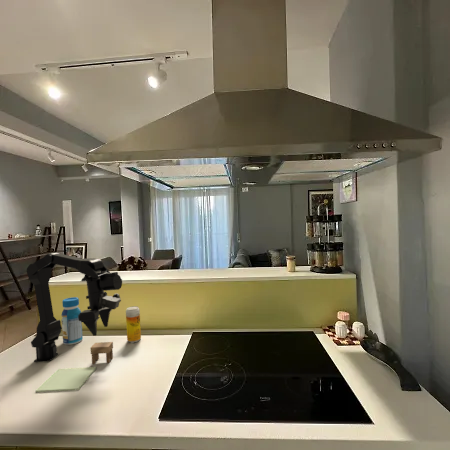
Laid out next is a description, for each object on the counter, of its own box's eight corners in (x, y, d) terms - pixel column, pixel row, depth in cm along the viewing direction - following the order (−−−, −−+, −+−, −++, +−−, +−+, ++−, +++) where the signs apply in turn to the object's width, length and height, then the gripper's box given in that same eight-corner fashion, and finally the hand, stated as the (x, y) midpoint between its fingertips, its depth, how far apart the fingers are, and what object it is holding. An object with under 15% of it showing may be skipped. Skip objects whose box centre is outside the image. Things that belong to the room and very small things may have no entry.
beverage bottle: (77, 345, 134) (74, 301, 134) (58, 345, 134) (56, 302, 134) (86, 337, 143) (84, 296, 142) (68, 338, 143) (66, 296, 142)
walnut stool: (91, 364, 115) (90, 347, 115) (96, 358, 120) (95, 342, 120) (109, 363, 116) (108, 346, 115) (113, 357, 120) (112, 341, 120)
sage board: (35, 392, 98) (35, 390, 98) (58, 370, 112) (58, 368, 112) (78, 390, 98) (78, 388, 98) (96, 368, 112) (96, 366, 112)
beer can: (137, 343, 133) (135, 310, 133) (124, 342, 134) (123, 309, 134) (143, 337, 139) (141, 306, 139) (131, 337, 140) (129, 305, 140)
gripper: (105, 295, 106) (110, 338, 106) (125, 284, 125) (129, 320, 125) (74, 298, 107) (80, 341, 107) (99, 286, 125) (104, 323, 126)
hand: (100, 330), depth 116 cm, fingers open, 9 cm apart
